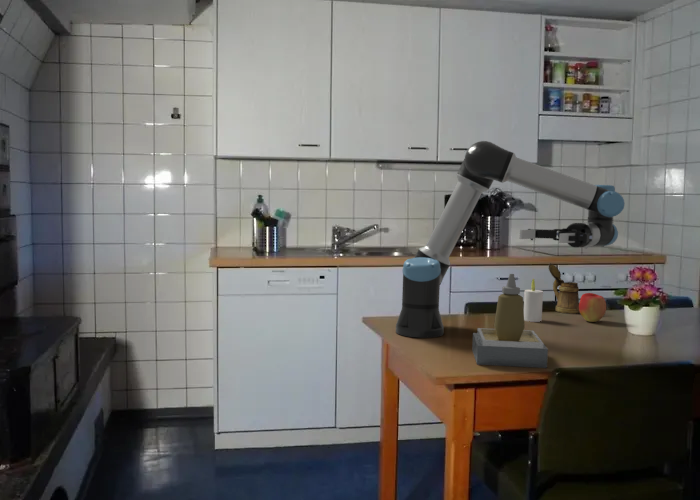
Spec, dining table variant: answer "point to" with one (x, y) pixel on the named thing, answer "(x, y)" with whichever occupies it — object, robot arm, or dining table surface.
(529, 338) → the square box
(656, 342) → the dining table surface
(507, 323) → the squeeze bottle
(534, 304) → the candle
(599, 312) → the apple
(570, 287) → the wooden mug
